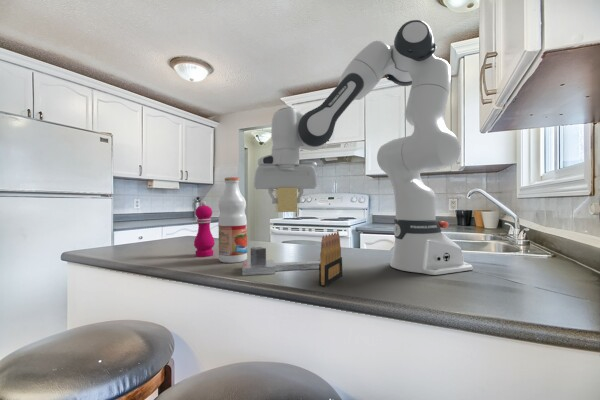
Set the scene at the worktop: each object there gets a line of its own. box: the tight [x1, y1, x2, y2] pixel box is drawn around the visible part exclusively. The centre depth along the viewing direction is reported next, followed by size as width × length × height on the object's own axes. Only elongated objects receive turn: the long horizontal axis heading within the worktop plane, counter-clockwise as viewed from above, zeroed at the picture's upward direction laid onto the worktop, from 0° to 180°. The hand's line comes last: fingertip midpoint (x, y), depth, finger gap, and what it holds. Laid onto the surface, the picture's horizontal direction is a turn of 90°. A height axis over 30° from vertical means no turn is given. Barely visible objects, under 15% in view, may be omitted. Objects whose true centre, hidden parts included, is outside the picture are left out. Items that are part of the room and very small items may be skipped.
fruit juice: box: [217, 176, 248, 264], centre depth 100 cm, size 9×9×28 cm
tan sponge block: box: [275, 188, 298, 213], centre depth 95 cm, size 6×6×8 cm
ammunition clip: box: [318, 231, 343, 287], centre depth 75 cm, size 11×2×12 cm, turn 150°
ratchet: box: [241, 246, 320, 276], centre depth 88 cm, size 27×9×6 cm, turn 100°
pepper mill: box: [193, 200, 215, 258], centre depth 109 cm, size 7×7×20 cm
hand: (286, 203), depth 95 cm, fingers closed on tan sponge block, 6 cm apart
